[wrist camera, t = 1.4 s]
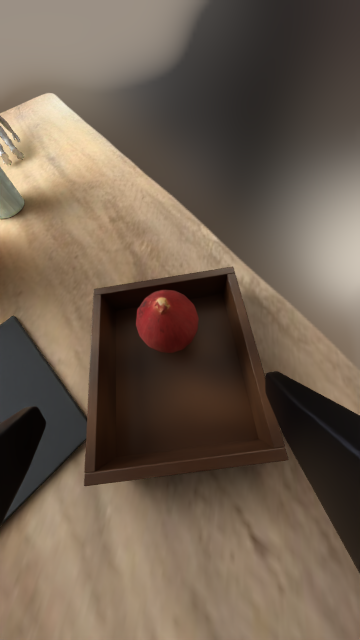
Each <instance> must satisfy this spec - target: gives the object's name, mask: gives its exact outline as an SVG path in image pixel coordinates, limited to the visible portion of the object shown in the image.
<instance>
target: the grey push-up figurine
mask: <svg viewBox="0 0 360 640" xmlns="http://www.w3.org/2000/svg"><path fill="white" fill-rule="evenodd" d="M0 123H2V124H3V126H4V127H5V128H6V129H7V130H8V131H10V132H11V133H12V136H13V138H14V140H15V138H16V139H17V141H18V142H20V139H19V137H18V136H17V135H16V133H14V131H13V130H12V128H11V127H10V125H9V124H8V123H7V122H6V121H5V119H4V118H2V117H1V116H0ZM0 137H1V138H2V139H3V140H4V141H5V143H6V145H8V146H9V147H10V149H11V151H12V153H13V154H16V155H17V158H18V159H22V158H24V155H23V154H22V153H21V152H20V151H19V150H18V149H17V148H16V147H15V146H14V145H13V143H12V141H11V139H9V137H8V136H7V134H6V132H5V131H4V130H3V128H2V127H1V126H0ZM0 155H1V157H2V159H3V162H4V164H6V165H11V163H12V162H11V161H10V160H9V159H8V155H7V154H6V153H5V152H4V150H3V147H2V145H1V144H0ZM22 160H23V159H22Z"/></svg>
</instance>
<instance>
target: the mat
mask: <svg viewBox="0 0 360 640" xmlns="http://www.w3.org/2000/svg"><path fill="white" fill-rule="evenodd" d="M32 406H36V407H38V408H39V410H40V411H41V413H42V415H43V417H44V418H45V420H46V427H45V430H44V432H43V435H42V437H41V440H40V442H39V445H38V447H37V450H36V452H35V455H34V457H33V460H32V462H31V465H30V467H29V469H28V472H27V474H26V476H25V478H24V480H23V482H22V484H21V486H20V488H19V490H18V492H17V494H16V496H15V498H14V500H13V502H12V504H11V506H10V508H9V510H8V512H7V514H6V517H5V519H4V521H3V523H4V522H5V521H6V520H7V519H8V518H9V517H10V516H11V515H12V514H13V513H14V512H15V511H16V510H17V509H18V508H19V507H20V506H21V505H22V504H23V503H24V502H25V501H26V500H27V499H28V498H29V497H30V496H31V495H32V494H33V493H34V492H35V491H36V490H37V489H38V488H39V487H40V486H41V485H42V484H43V483H44V482H45V481H46V480H47V479H48V478H49V477H50V476H51V475H52V474H53V473H54V472H55V471H56V470H57V469H58V468H59V467H60V466H61V465H62V464H63V463H64V462H65V461H66V460H67V459H68V458H69V456H70V455H71V454H72V453H73V452H74V451H75V450H76V449H77V448H78V447H79V446H80V445H81V444H82V443H83V442H84V441H85V440H86V434H87V418H86V416H85V415H84V413H83V412H82V411H81V409H80V408H79V406H78V405H77V403H76V402H75V401H74V399H73V398H72V396H71V395H70V394H69V392H68V391H67V389H66V388H65V386H64V385H63V384H62V382H61V381H60V379H59V378H58V376H57V375H56V374H55V372H54V371H53V369H52V368H51V366H50V365H49V364H48V362H47V361H46V359H45V358H44V356H43V355H42V354H41V352H40V351H39V349H38V348H37V347H36V345H35V344H34V342H33V341H32V339H31V338H30V337H29V335H28V334H27V332H26V331H25V329H24V328H23V327H22V325H21V324H20V322H19V321H18V319H17V318H16V317H15V316H12V317H10V318H9V319H8V320H6V321H5V322H4V323H2V324H1V325H0V423H2V422H3V421H5V420H6V419H8V418H9V417H11V416H12V415H14V414H16V413H17V412H19V411H20V410H22V409H23V408H26V407H32ZM3 523H2V524H3Z"/></svg>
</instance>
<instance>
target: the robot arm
mask: <svg viewBox="0 0 360 640" xmlns="http://www.w3.org/2000/svg"><path fill="white" fill-rule="evenodd" d="M265 391H266V395H267V398H268V400H269V402H270V405H271V407H272V409H273V412H274V414H275V416H276V419H277V421H278V423H279V426H280V428H281V430H282V433H283V435H284V437H285V439H286V441H287V443H288V444H289V446H290V448H291V450H292V452H293V454H294V455H295V457H296V459H297V461H298V463H299V464H300V466H301V468H302V470H303V472H304V473H305V475H306V477H307V479H308V481H309V483H310V484H311V486H312V488H313V490H314V492H315V493H316V495H317V497H318V499H319V501H320V502H321V504H322V506H323V508H324V510H325V512H326V513H327V515H328V517H329V519H330V521H331V522H332V524H333V526H334V528H335V530H336V531H337V533H338V535H339V537H340V539H341V541H342V542H343V544H344V546H345V548H346V550H347V551H348V553H349V555H350V557H351V559H352V560H353V562H354V564H355V566H356V568H357V569H358V571H359V573H360V415H358V414H356V413H354V412H352V411H350V410H349V409H347V408H345V407H343V406H341V405H339V404H337V403H336V402H334V401H332V400H330V399H328V398H326V397H324V396H323V395H321V394H319V393H317V392H315V391H313V390H311V389H309V388H308V387H306V386H304V385H302V384H300V383H298V382H296V381H295V380H293V379H291V378H289V377H287V376H285V375H283V374H282V373H280V372H277V371H275V372H268V373H266V376H265ZM45 427H46V420H45V418H44V417H43V415H42V413H41V411H40V410H39V408H38V407H36V406H32V407H26V408H23V409H22V410H20V411H19V412H17V413H16V414H14V415H12V416H11V417H9V418H8V419H6V420H5V421H3V422H2V423H0V527H1V525H2V523H3V521H4V519H5V517H6V514H7V512H8V510H9V508H10V506H11V504H12V502H13V500H14V498H15V496H16V494H17V492H18V490H19V488H20V486H21V484H22V482H23V480H24V478H25V476H26V474H27V472H28V469H29V467H30V465H31V462H32V460H33V457H34V455H35V452H36V450H37V447H38V445H39V442H40V440H41V437H42V435H43V432H44V430H45Z"/></svg>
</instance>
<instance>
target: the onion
mask: <svg viewBox="0 0 360 640" xmlns="http://www.w3.org/2000/svg"><path fill="white" fill-rule="evenodd" d="M198 320H199V318H198V315H197V312H196V309H195V306H194V304H193V303H192V302H191V301H190V300H189V299H188V298H187V297H186V296H185V295H183V294H181V293H179V292H177V291H174V290H161V291H157V292H153V293H152V294H151V295H149V296H148V297H146V298H145V299H144V301H143V302H142V304H141V305H140V307H139V308H138V310H137V319H136V327H137V330H138V333H139V336H140V337H141V338H142V340H143V341H144V342H145V343H146V344H147V345H148V347H150V348H153V349H155V350H157V351H159V352H166V353H173V352H176V351H180V350H183V349H184V348H185V347H186V346H187V345H189V344H190V343H191V342H192V340H193V338H194V336H195V334H196V332H197V330H198Z"/></svg>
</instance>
